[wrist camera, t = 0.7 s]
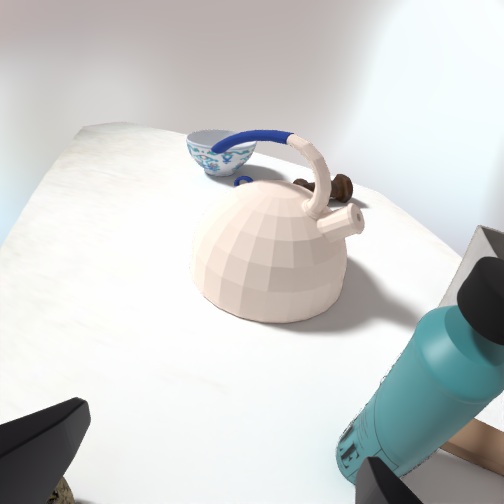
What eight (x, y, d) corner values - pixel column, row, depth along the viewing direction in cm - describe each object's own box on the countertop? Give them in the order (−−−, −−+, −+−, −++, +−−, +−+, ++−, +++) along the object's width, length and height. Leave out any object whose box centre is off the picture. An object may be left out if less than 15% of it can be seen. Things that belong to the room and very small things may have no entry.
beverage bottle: (408, 478, 20) (578, 310, 9) (340, 507, 18) (529, 350, 7) (379, 421, 25) (501, 234, 14) (314, 442, 23) (426, 237, 12)
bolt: (275, 210, 61) (339, 203, 66) (287, 209, 56) (354, 201, 62) (271, 179, 60) (336, 175, 66) (283, 176, 56) (351, 172, 61)
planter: (460, 292, 42) (511, 178, 31) (496, 323, 37) (557, 208, 26) (402, 331, 35) (470, 181, 24) (446, 375, 29) (538, 225, 19)
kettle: (298, 357, 31) (347, 187, 21) (156, 270, 40) (149, 127, 30) (364, 266, 46) (400, 148, 35) (249, 215, 55) (261, 108, 44)
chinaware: (223, 156, 79) (225, 127, 75) (267, 175, 71) (271, 142, 67) (172, 167, 70) (172, 134, 66) (213, 189, 62) (215, 151, 57)
